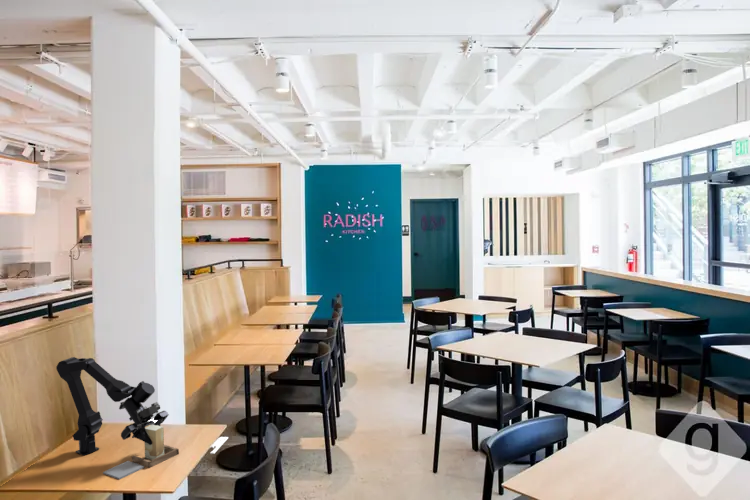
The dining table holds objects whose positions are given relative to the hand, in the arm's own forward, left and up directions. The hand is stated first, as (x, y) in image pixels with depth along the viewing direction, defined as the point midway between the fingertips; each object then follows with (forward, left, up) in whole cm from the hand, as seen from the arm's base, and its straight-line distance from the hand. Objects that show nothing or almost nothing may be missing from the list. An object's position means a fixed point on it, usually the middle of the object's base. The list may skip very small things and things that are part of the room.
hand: (156, 441), depth 196 cm
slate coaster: (-2, -13, -7) cm, 14 cm away
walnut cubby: (-1, 0, -7) cm, 7 cm away
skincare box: (-1, 0, -7) cm, 7 cm away
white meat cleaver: (+12, +19, -7) cm, 23 cm away
